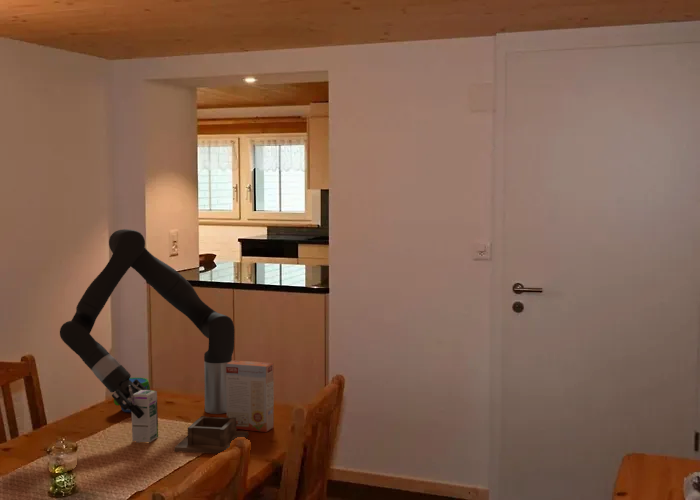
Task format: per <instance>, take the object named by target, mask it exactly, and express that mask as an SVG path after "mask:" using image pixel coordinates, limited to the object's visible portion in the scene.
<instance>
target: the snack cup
mask: <svg viewBox="0 0 700 500" xmlns="http://www.w3.org/2000/svg"><path fill="white" fill-rule="evenodd" d="M136 379H137V380H138V381H139V382H140V383H141V384H142V385H143V386H144V387H145V388H146V389H147V390H151V386H150V383H149V379H147V378H146V377H130V378H129V380H130V381H131V382H134V381H135V380H136ZM115 392H116V391H115ZM115 392H114V393H115ZM122 403H123V402H122ZM130 403H131V402H130ZM113 404H114V405H115V406H120V405H119V404H118V403H117V402H116V401H115V399H114V398H113ZM124 405H125V404H124ZM120 409H121V410H122V412H123V413H132V412H131V410H128V409H126V410H123V408H122V407H121V406H120Z"/></svg>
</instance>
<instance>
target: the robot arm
mask: <svg viewBox="0 0 700 500" xmlns="http://www.w3.org/2000/svg"><path fill="white" fill-rule="evenodd" d="M108 246H109V249H110V251H111V252H112V254H111V257H110V259H109V260H108V262H107V263H106V265H105V267H103V269H102V270H101V272H100V273H98V275H97V276H96V277H95V278H94V279H93V280H92V281H91V283H90V284H89V285H88V287H87V288H86V290H85V291H84V293H83V295H82V296H81V298H80V299H79V301H78V303H77V305H76V308H75V309H76V310H75V311H76V312H74V315H73V317H72V318H71V320H68V321H65V322H64V323H63V324H62V325H61V326H60V328H59V336H60V337H59V338H60V339H61V341H62V342H64V344H65V345H66V346H67V347H69V348H70V349H71V350H72V351H73V352H74V353H75V354H76V355H77V356H79V358H80V359H81V360H82V362H83V363H84V364H85V365H86V366H87V367H88V368H89V369H90V370H91V371H92V373H93V375H94V376H95V377H96V378H97V379H98V380H99V381H100V382H101V384H102V385H103V386H104V387H105V388H106V389H107V390H108V391H109V392H110V393H113V394H112V395H111V397H112V398H113V400H114V399H115V401H116V402H117V403H118V404H119V406H120V408H121V407H122V408H123V410H126V409H128V410H131V411H132V412H133V413H134V414H135V416H136V417H137V418H141V417H142V416H143V415H144V412H143V411H142V410H141V409H140V408H139V407H138V406H137V405H135V402H134V396H133V394H135V393H136V392H138V391H140V390H147V389H146V388H145V387H144V386H143V385H142V384H141V383H140V382H139V381H138V380H137V379H136V380H135V381H134V382H131V381H130V380H129V378H132V377H131V376H132V375H131V373H130V372H129V371H128V370H127V369H126V368H125V367H124V366H123V365H122V364H121V363H120V362H119V360H117V358H116V357H114V356H113V355H111V353H110V352H109V351H108V350H107V349H106V348H105V347H104V346H103V344H101V343H100V342H98V341H97V340H95V338H94V337H93V336H92V335H91V332H92V330H93V328H94V325H95V323H96V321H97V319H98V317H99V315H100V314H101V312H102V310H103V309H104V307H106V304H107V302H108V301H109V298H110V297H111V296H112V294H113V292H114V290H115V288H116V287H117V286H118V284H119V282H120V281H121V280H122V279H123V278H124V275H125V274H126V273H127V272H128V270H129V269H131V268H132V269H133V270H134V271H136V272H137V273H138V275H140V276H141V277H142V278H143V280H144V281H146V283H148V284H149V285H150V286H151V287H152V288H153V289H154V290H155V291H156V293H158V294H159V295H160V296H161V297H162V298H163V299H164V300H165V301H167V303H169V304H170V305H171V306H173V307H174V308H175V309H176V310H177V311H179V312H180V313H182V314H183V315H184V316H185V317H187V318H188V319H189V320H190V321H191V323H192V324H193V325H194V326H195V327H196V328H197V329H198V330H199V331H200V333H202V335H203V336H204V337H206V338H207V339H208V347H207V348H208V349H207V351H205V352H204V355H203V358H204V359H203V360H204V361H203V367H204V373H203V374H204V412H206V413H208V414H210V415H211V414H214V415H216V414H217V415H219V414H220V415H221V414H227V402H226V364H227V363H229V362H232V361H233V357H232V356H233V354H234V350H235V324H234V321H233V319H231V317H229V316H228V315H225V314H223V313H220V312H217V311H215V310H214V309H213V308H211V307H210V306H209V305H208V304H206V303H205V302H204V301H203V300H202V299H201V298H200V297H199V294H198V293H197V292H196V290H195V288H194V287H193V285H192V284H191V283H190V282H189V281H188V280H187V279H186V278H185V276H183V275H182V274H180V272H179V271H177V270H176V269H175V268H173V267H172V266H170V265H168V264H167V263H165V262H164V261H162V260H161V259H159V258H158V257H156V256H154V255H153V254H152V253H151V252H150V251H148V249H147V248H146V241H145V237H144V236H143V234H142V233H141V232H140V231H137V230H135V229H127V228H126V229H125V228H124V229H118V230H115V231H114V232H113V233H112V234H111V235H110V236H109V240H108ZM115 391H116V392H115ZM122 402H123V403H122ZM130 402H131V403H130ZM124 404H125V405H124ZM132 412H131V413H132Z"/></svg>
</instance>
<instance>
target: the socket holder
mask: <svg viewBox="0 0 700 500" xmlns="http://www.w3.org/2000/svg"><path fill="white" fill-rule="evenodd" d="M237 437H245V438H246V439H247V438H248V437H249V431H245V430H241V431H240V430H239V431H238V430H237V429H236V418H234V417H232V418H227V417H219V416H217V417H214V416H206V415H201V416H200V417H199V418H197V419H196V420H195V421H194V422H193V423H191V424H190V425H189V426H188V427H187V436H185V437H184V438H183V439H182V440H181V441H180V442H178V443H177V444H176V445H175V446H174V447H173V448H174V449H173V450H174V452H178V451H182V453H198V454H214V455H215V454H217V453H220V452H222V451H224V450H226V449H227V448H229V447H230V443H231V441H232V440H234V439H235V438H237ZM217 455H218V454H217Z"/></svg>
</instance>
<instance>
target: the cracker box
mask: <svg viewBox="0 0 700 500" xmlns="http://www.w3.org/2000/svg"><path fill="white" fill-rule="evenodd" d="M274 378H275V377H274V363H273V362H263V361H262V362H261V361H251V360H250V361H249V360H232V362H229V363H227V364H226V402H227V413H226V418H232V417H234V418H236V430H241V431H253V432H262V433H268V432H269V431H271V429H274V428H275V425H274V424H275V423H274V421H275V419H274V418H275V416H274V415H275V412H274V411H275V407H274V406H275V404H274V401H275V400H274V399H275V398H274V396H275V394H274V391H275V390H274V387H275V385H274V383H275V381H274V380H275V379H274Z"/></svg>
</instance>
